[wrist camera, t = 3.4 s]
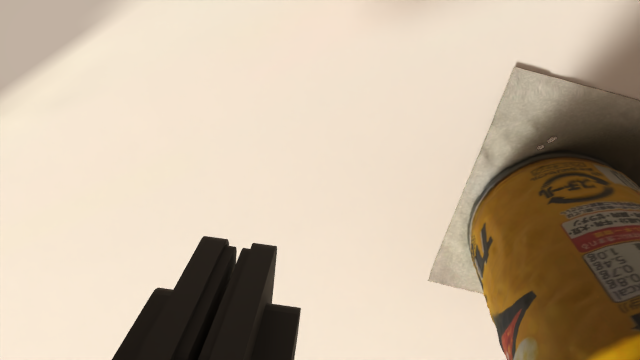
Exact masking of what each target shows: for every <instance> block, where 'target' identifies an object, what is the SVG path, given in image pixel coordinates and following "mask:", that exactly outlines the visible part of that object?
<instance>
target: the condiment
mask: <svg viewBox="0 0 640 360" xmlns="http://www.w3.org/2000/svg"><path fill="white" fill-rule="evenodd" d="M551 137H557V139H556V140H555V141H553V142H551V143H547V140H548V139H550V138H551ZM539 145H544V148H543V149H541V150H537V149H536V148H537V147H538V146H539ZM428 281H430V282H436V283H440V284H443V285H447V286H451V287H455V288H461V289H465V290H468V291H472V292H478V293H482V294H484V296H485V298H486V302H487V306H488V308H489V310H490V315H491V318H492V320H493V322H494V324H495V326H496V328H497V332H498V337H499V342H500V345H501V348H502V350H503V352H504V354H505V355H506V358H507V360H640V101H639V100H636V99H632V98H628V97H625V96H621V95H617V94H614V93H610V92H607V91H602V90H601V89H596V88H592V87H588V86H583V85H580V84H576V83H573V82H569V81H566V80H562V79H559V78H555V77H551V76H547V75H543V74H539V73H536V72H532V71H528V70H524V69H521V68H517V67H514V69H513V72H512V74H511V77H510V79H509V82H508V84H507V87H506V90H505V92H504V95H503V97H502V99H501V102H500V104H499V106H498V108H497V111H496V113H495V116H494V120H493V122H492V125H491V127H490V129H489V131H488V134H487V137H486V139H485V141H484V143H483V146H482V149H481V152H480V154H479V156H478V158H477V160H476V163H475V165H474V168H473V170H472V172H471V175H470V177H469V179H468V181H467V184H466V186H465V188H464V191H463V193H462V195H461V198H460V200H459V203H458V206H457V208H456V211H455V213H454V216H453V218H452V220H451V223H450V225H449V228H448V230H447V232H446V235H445V237H444V240H443V242H442V245H441V248H440V250H439V253H438V255H437V257H436V260H435V262H434V265H433V268H432V270H431V273H430V276H429V280H428Z"/></svg>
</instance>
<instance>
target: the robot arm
mask: <svg viewBox="0 0 640 360" xmlns="http://www.w3.org/2000/svg"><path fill="white" fill-rule="evenodd" d="M276 255H277V246H271V245H264V244H257V243H253V244H252V246H251V249H247V248H243V249H242V251H241V253H240V256H239V258H238V261H237V263H236V247H233V246H229V242H228V239H221V238H214V237H207V236H203V238H202V239H201V241H200V243H199V245H198V246H197V248H196V250H195V252H194V254H193V255H192V257H191V259H190V261H189V263H188V264H187V266H186V268H185V270H184V272H183V273H182V275H181V277H180V279H179V281H178V282H177V284H176V286H175V288H174V290H171V289H164V288H157V289H155V290H154V292H153V293H152V295H151V296H150V298H149V300H148V301H147V303H146V304H145V306H144V308H143V309H142V311H141V313H140V314H139V316H138V318H137V319H136V321H135V323H134V324H133V326H132V327H131V329H130V331H129V332H128V334H127V336H126V337H125V339H124V341H123V342H122V344H121V345H120V347H119V349H118V350H117V352H116V354H115V355H114V357H113V359H112V360H294V356H295V349H296V342H297V334H298V327H299V319H300V310H301V308H297V307H290V306H283V305H276V304H272V295H273V285H274V275H275V265H276Z"/></svg>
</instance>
